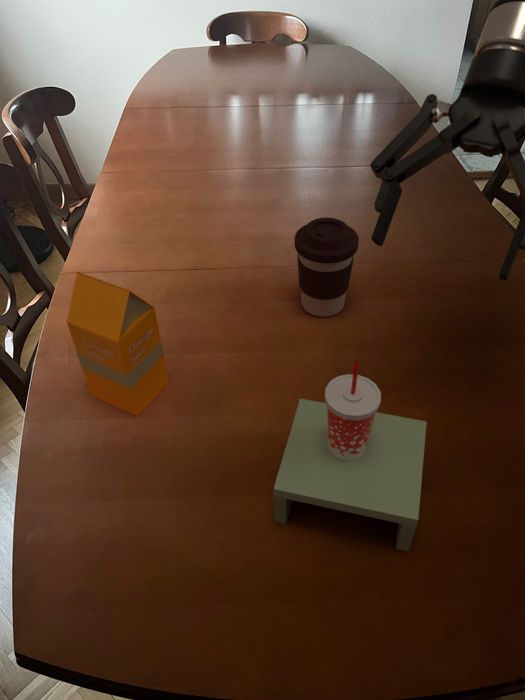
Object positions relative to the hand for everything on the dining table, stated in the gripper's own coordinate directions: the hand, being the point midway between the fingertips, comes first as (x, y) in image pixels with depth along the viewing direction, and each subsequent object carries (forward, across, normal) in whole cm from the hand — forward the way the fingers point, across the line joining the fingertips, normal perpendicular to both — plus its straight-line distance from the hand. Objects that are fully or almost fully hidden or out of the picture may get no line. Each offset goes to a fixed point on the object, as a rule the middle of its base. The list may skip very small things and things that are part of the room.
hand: (437, 259), depth 62 cm
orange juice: (+28, +37, -11) cm, 48 cm away
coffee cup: (+6, +21, -33) cm, 40 cm away
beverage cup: (+23, +4, -6) cm, 24 cm away
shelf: (+28, +2, -11) cm, 30 cm away
